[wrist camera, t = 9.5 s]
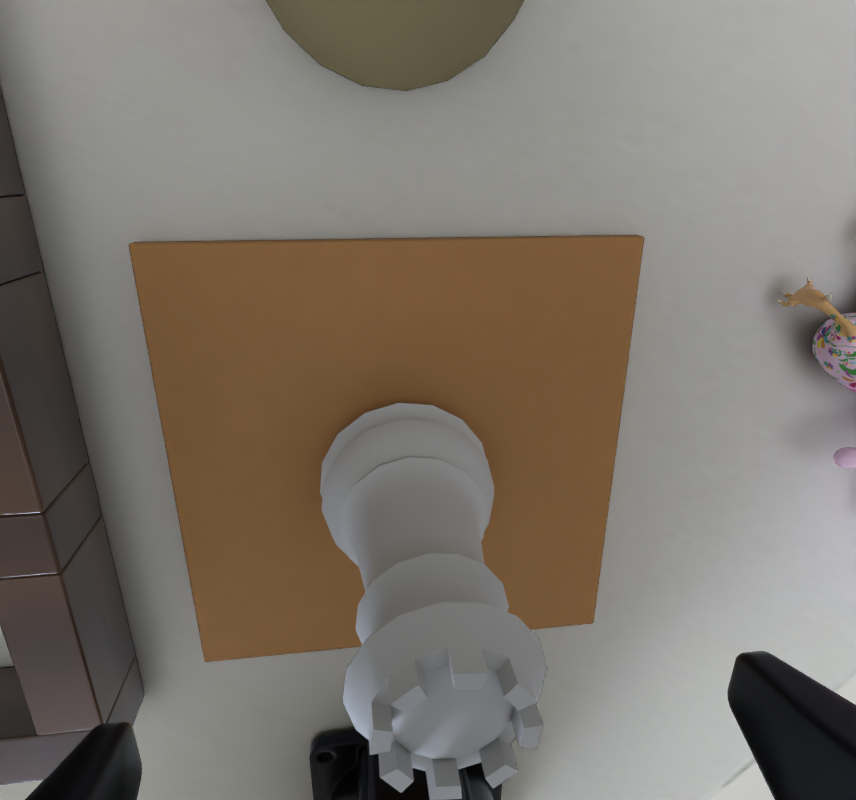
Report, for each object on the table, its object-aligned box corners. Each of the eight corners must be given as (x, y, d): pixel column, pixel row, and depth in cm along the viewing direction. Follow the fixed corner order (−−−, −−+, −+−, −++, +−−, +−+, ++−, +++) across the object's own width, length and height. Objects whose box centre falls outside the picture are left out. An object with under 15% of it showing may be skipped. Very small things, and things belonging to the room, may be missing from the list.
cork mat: (588, 615, 19) (593, 623, 19) (207, 652, 18) (204, 662, 17) (637, 235, 15) (645, 236, 14) (133, 241, 13) (127, 243, 13)
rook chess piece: (370, 567, 17) (392, 881, 9) (287, 445, 15) (233, 711, 8) (510, 497, 16) (646, 762, 9) (441, 365, 15) (541, 560, 7)
